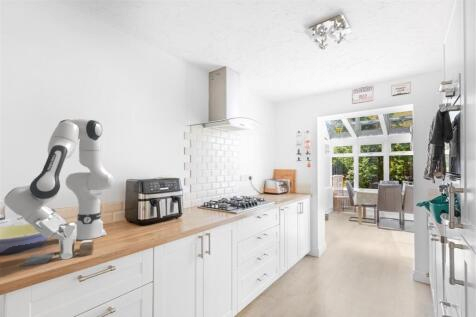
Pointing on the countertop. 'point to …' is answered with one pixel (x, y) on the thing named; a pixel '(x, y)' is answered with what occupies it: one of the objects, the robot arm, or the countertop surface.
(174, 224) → the countertop surface
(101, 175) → the robot arm
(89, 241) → the pale grey block
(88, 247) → the walnut cube
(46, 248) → the countertop surface
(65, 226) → the beer glass
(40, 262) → the charcoal mat
